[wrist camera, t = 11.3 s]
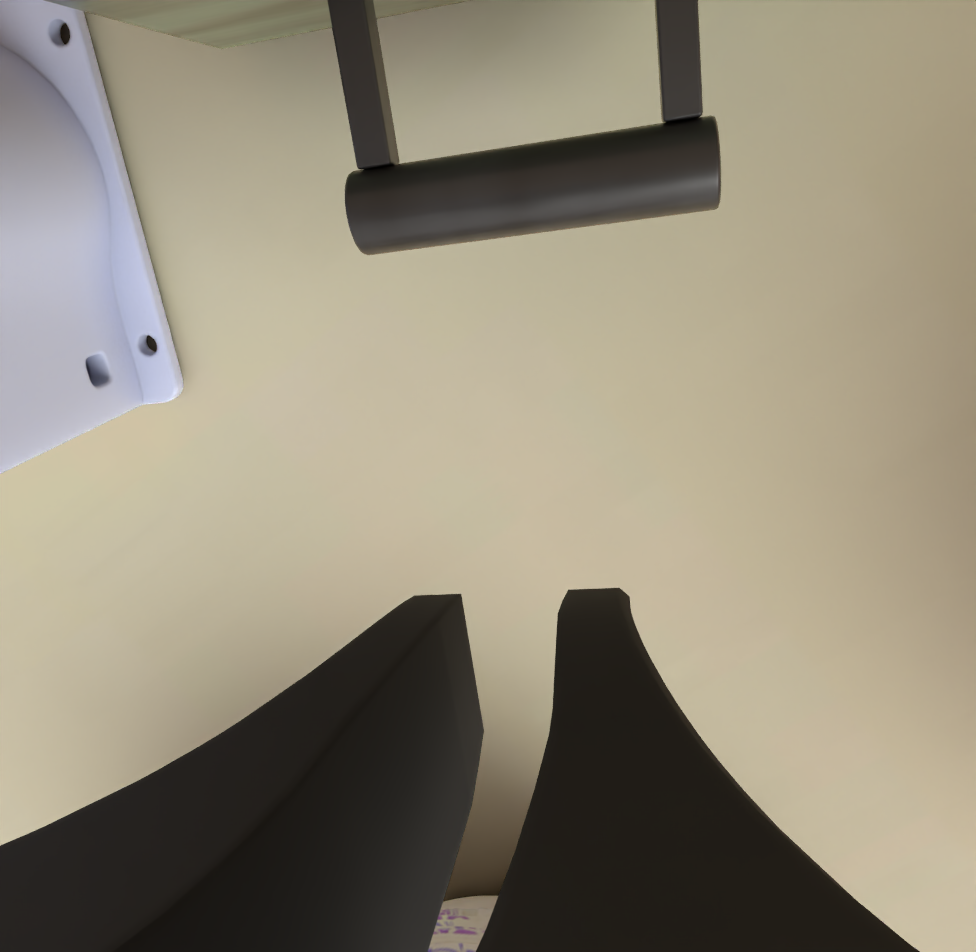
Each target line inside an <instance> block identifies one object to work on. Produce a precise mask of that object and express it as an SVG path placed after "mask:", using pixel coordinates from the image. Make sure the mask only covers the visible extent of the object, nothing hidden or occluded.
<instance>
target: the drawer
mask: <svg viewBox="0 0 976 952" xmlns="http://www.w3.org/2000/svg"><path fill="white" fill-rule="evenodd" d="M44 1H48V2H52V3H55V4H59V5H62V6H66V7H70V8H73V9H77V10H81V11H84V12H88V13H92V14H95V15H99V16H103V17H106V18H110V19H114V20H117V21H121V22H124V23H128V24H132V25H135V26H139V27H143V28H146V29H150V30H154V31H157V32H161V33H165V34H168V35H172V36H176V37H179V38H183V39H187V40H190V41H194V42H197V43H201V44H205V45H208V46H212V47H216V48H219V49H224V48H230V47H235V46H240V45H245V44H250V43H255V42H260V41H265V40H270V39H275V38H281V37H286V36H291V35H296V34H301V33H306V32H311V31H316V30H321V29H327V28H332V29H333V35H334V41H335V46H336V52H337V57H338V63H339V68H340V74H341V80H342V85H343V91H344V96H345V102H346V107H347V113H348V119H349V124H350V130H351V135H352V141H353V146H354V152H355V158H356V163H357V167H358V169H364V170H357V171H353V172H352V173H350V174H349V175H348V177H347V180H346V185H345V206H346V214H347V219H348V223H349V227H350V230H351V233H352V236H353V239H354V241H355V243H356V245H357V247H358V248H359V250H360V251H361V252H362V253H364V254H366V255H374V254H381V253H389V252H397V251H404V250H412V249H419V248H427V247H434V246H442V245H450V244H457V243H465V242H472V241H480V240H488V239H495V238H503V237H510V236H518V235H526V234H533V233H541V232H548V231H556V230H564V229H571V228H579V227H586V226H594V225H602V224H609V223H617V222H624V221H632V220H640V219H647V218H655V217H662V216H670V215H678V214H685V213H693V212H700V211H708V210H715V209H717V208H718V206H719V203H720V195H721V161H720V144H719V133H718V126H717V122H716V119H715V117H714V116H705V117H700V116H701V115H702V113H703V107H702V84H701V61H700V38H699V15H698V0H655V14H656V31H657V48H658V65H659V82H660V99H661V116H662V121H663V123H660V124H653V125H647V126H641V127H634V128H628V129H621V130H615V131H608V132H602V133H595V134H589V135H583V136H576V137H570V138H563V139H557V140H550V141H544V142H537V143H531V144H525V145H518V146H512V147H505V148H499V149H492V150H486V151H480V152H473V153H467V154H460V155H454V156H447V157H441V158H434V159H428V160H422V161H415V162H409V163H402V164H399V156H398V150H397V144H396V138H395V132H394V125H393V119H392V113H391V107H390V101H389V95H388V89H387V82H386V76H385V70H384V64H383V58H382V52H381V46H380V39H379V33H378V27H377V21H376V19H378V18H383V17H388V16H393V15H398V14H403V13H408V12H413V11H418V10H423V9H429V8H434V7H439V6H444V5H449V4H454V3H459V2H464V1H469V0H44Z"/></svg>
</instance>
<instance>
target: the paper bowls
mask: <svg viewBox="0 0 976 952" xmlns="http://www.w3.org/2000/svg"><path fill="white" fill-rule="evenodd" d="M497 898H498V896H472V897H464V898H458V899H452V900H448V901H445V902H443V903H442V907H441V910H440V913H439V916H438V920H437V923H436V926H435V930H434V933H433V936H432V940H431V943H430V946H429V949H428V952H476V950H477V948H478V945H479V943H480V941H481V939H482V937H483V934H484V932H485V930H486V928H487V925H488V922H489V920H490V917H491V914H492V912H493V909H494V906H495V904H496V901H497Z"/></svg>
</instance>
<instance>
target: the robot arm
mask: <svg viewBox="0 0 976 952" xmlns="http://www.w3.org/2000/svg"><path fill="white" fill-rule="evenodd" d="M64 23H66V24H67V26H68V28H69V30H70V39H69V42H68V43H67V44H66V45H65V44H64V43H63V41H62V39H61V36H60V29H61V27H62V25H63V24H64ZM148 335H150V336H151V337H152V338H153V339H154V340H155V342H156V343H157V351H156V352H154V351H152V350H151V349H150V348H149V347H148V345H147V339H146V338H147V336H148ZM183 387H184V385H183V377H182V373H181V370H180V366H179V362H178V359H177V355H176V351H175V347H174V344H173V340H172V336H171V333H170V329H169V325H168V322H167V318H166V314H165V310H164V307H163V303H162V299H161V296H160V292H159V288H158V285H157V281H156V277H155V274H154V270H153V266H152V262H151V259H150V255H149V251H148V248H147V244H146V240H145V237H144V233H143V229H142V225H141V222H140V218H139V214H138V211H137V207H136V203H135V200H134V196H133V192H132V188H131V185H130V181H129V177H128V174H127V170H126V166H125V163H124V159H123V155H122V151H121V148H120V144H119V140H118V137H117V133H116V129H115V126H114V122H113V118H112V114H111V111H110V107H109V103H108V100H107V96H106V92H105V89H104V85H103V81H102V77H101V74H100V70H99V66H98V63H97V59H96V55H95V52H94V48H93V44H92V40H91V37H90V33H89V29H88V26H87V22H86V18H85V15H84V11H81V10H77V9H73V8H70V7H66V6H62V5H59V4H55V3H52V2H48V1H44V0H0V474H1V473H3V472H5V471H7V470H9V469H11V468H13V467H15V466H18V465H20V464H22V463H24V462H26V461H28V460H30V459H32V458H34V457H36V456H38V455H40V454H42V453H44V452H46V451H48V450H50V449H53V448H55V447H57V446H59V445H61V444H63V443H65V442H67V441H69V440H71V439H73V438H75V437H77V436H79V435H81V434H83V433H85V432H88V431H90V430H92V429H94V428H96V427H98V426H100V425H102V424H104V423H106V422H108V421H110V420H112V419H114V418H116V417H118V416H120V415H123V414H125V413H127V412H129V411H131V410H133V409H135V408H137V407H139V406H141V405H144V404H154V403H164V402H168V401H171V400H173V399H175V398H177V397H178V396H179V395H180V394H181V393H182V390H183ZM483 733H484V729H483V723H482V717H481V711H480V705H479V699H478V693H477V687H476V681H475V675H474V669H473V663H472V657H471V651H470V645H469V639H468V633H467V627H466V621H465V615H464V609H463V603H462V597H461V594H446V595H420V596H413V597H412V598H410V599H408V600H407V601H405V602H403V603H402V604H400V605H399V606H398V607H396V608H395V609H393V610H392V611H391V612H389V613H388V614H387V615H385V616H384V617H383V618H381V619H380V620H379V621H377V622H376V623H375V624H373V625H372V626H371V627H369V628H368V629H367V630H366V631H364V632H363V633H362V634H360V635H359V636H358V637H356V638H355V639H354V640H352V641H351V642H350V643H349V644H347V645H346V646H345V647H343V648H342V649H341V650H339V651H338V652H337V653H335V654H334V655H333V656H331V657H330V658H329V659H327V660H326V661H325V662H323V663H322V664H321V665H319V666H318V667H317V668H316V669H314V670H313V671H312V672H310V673H309V674H307V675H306V676H305V677H303V678H302V679H300V680H299V681H297V682H296V683H295V684H293V685H292V686H290V687H289V688H287V689H286V690H284V691H283V692H282V693H280V694H279V695H277V696H276V697H274V698H273V699H271V700H270V701H269V702H267V703H266V704H264V705H263V706H261V707H260V708H258V709H257V710H256V711H254V712H253V713H251V714H250V715H248V716H247V717H245V718H244V719H243V720H241V721H239V722H238V723H236V724H235V725H233V726H232V727H230V728H229V729H227V730H225V731H224V732H222V733H221V734H219V735H217V736H216V737H214V738H212V739H211V740H209V741H207V742H206V743H204V744H203V745H201V746H199V747H197V748H196V749H194V750H192V751H190V752H189V753H187V754H185V755H183V756H182V757H180V758H178V759H176V760H175V761H173V762H171V763H169V764H168V765H166V766H164V767H162V768H161V769H159V770H157V771H155V772H154V773H152V774H150V775H148V776H146V777H144V778H142V779H140V780H139V781H137V782H135V783H133V784H131V785H129V786H127V787H124V788H122V789H120V790H118V791H116V792H114V793H112V794H110V795H108V796H106V797H104V798H102V799H100V800H98V801H96V802H94V803H92V804H90V805H88V806H86V807H84V808H82V809H79V810H77V811H75V812H73V813H71V814H69V815H67V816H65V817H63V818H61V819H59V820H57V821H55V822H53V823H51V824H49V825H47V826H45V827H42V828H40V829H38V830H36V831H33V832H31V833H29V834H27V835H24V836H22V837H20V838H17V839H15V840H13V841H10V842H8V843H6V844H3V845H1V846H0V952H428V949H429V946H430V943H431V940H432V936H433V933H434V930H435V926H436V923H437V920H438V916H439V913H440V910H441V907H442V903H443V900H444V897H445V893H446V890H447V887H448V884H449V880H450V877H451V874H452V870H453V867H454V864H455V860H456V857H457V854H458V850H459V847H460V844H461V840H462V837H463V833H464V830H465V827H466V823H467V820H468V816H469V813H470V809H471V806H472V801H473V795H474V790H475V784H476V778H477V772H478V766H479V759H480V753H481V746H482V739H483ZM476 952H919V951H918V950H917V949H915V948H914V947H913V946H911V945H910V944H909V943H907V942H906V941H905V940H904V939H902V938H901V937H900V936H899V935H898V934H896V933H895V932H894V931H893V930H892V929H890V928H889V927H888V926H887V925H885V924H884V923H883V922H882V921H881V920H879V919H878V918H877V917H876V916H875V915H873V914H872V913H871V912H870V911H869V910H867V909H866V908H865V907H864V906H863V905H861V904H860V903H859V902H858V901H856V900H855V899H854V898H853V897H852V896H851V895H850V894H849V893H848V892H847V891H846V890H844V889H843V888H842V887H841V886H840V885H839V884H838V883H837V882H836V881H835V880H834V879H833V878H832V877H831V876H829V875H828V874H827V873H826V872H825V871H824V870H823V869H822V868H821V867H820V866H819V865H818V864H817V863H816V862H814V861H813V860H812V859H811V858H810V857H809V856H808V855H807V854H806V853H805V852H804V851H803V850H802V849H801V848H800V847H798V846H797V845H796V844H795V843H794V842H793V841H792V840H791V839H790V838H789V837H788V836H787V835H786V834H785V833H783V832H782V831H781V830H780V829H779V828H778V827H777V826H776V825H775V824H774V823H773V821H772V820H771V819H770V818H769V817H768V816H767V815H766V814H765V813H764V812H763V811H762V810H761V809H760V807H759V806H758V805H757V804H756V803H755V802H754V801H753V800H752V799H751V798H750V797H749V796H748V794H747V793H746V792H745V791H744V790H743V789H742V788H741V787H740V785H739V784H738V783H737V782H736V781H735V780H734V778H733V777H732V776H731V775H730V774H729V773H728V771H727V770H726V769H725V768H724V767H723V765H722V764H721V763H720V762H719V761H718V759H717V758H716V757H715V756H714V754H713V753H712V752H711V750H710V749H709V748H708V747H707V745H706V744H705V743H704V741H703V740H702V739H701V737H700V736H699V735H698V733H697V732H696V730H695V729H694V728H693V726H692V725H691V723H690V722H689V720H688V719H687V717H686V716H685V715H684V713H683V712H682V710H681V709H680V707H679V706H678V704H677V703H676V701H675V700H674V698H673V696H672V695H671V693H670V692H669V690H668V688H667V687H666V685H665V683H664V682H663V680H662V678H661V676H660V674H659V673H658V671H657V669H656V667H655V666H654V664H653V662H652V660H651V658H650V657H649V655H648V653H647V651H646V649H645V647H644V645H643V642H642V640H641V638H640V635H639V633H638V631H637V628H636V626H635V623H634V620H633V617H632V614H631V609H630V598H629V596H628V595H627V594H626V593H625V592H623V591H622V590H621V589H620V588H605V589H579V590H568V592H567V593H566V595H565V597H564V599H563V601H562V604H561V607H560V609H559V612H558V621H557V637H556V656H555V676H554V695H553V711H552V718H551V725H550V732H549V737H548V741H547V745H546V748H545V752H544V756H543V760H542V763H541V767H540V771H539V775H538V778H537V782H536V786H535V790H534V793H533V796H532V799H531V802H530V806H529V809H528V812H527V815H526V818H525V822H524V825H523V828H522V831H521V834H520V838H519V841H518V844H517V847H516V850H515V853H514V856H513V858H512V861H511V864H510V866H509V869H508V872H507V874H506V877H505V880H504V882H503V885H502V888H501V890H500V893H499V896H498V898H497V901H496V904H495V906H494V909H493V912H492V914H491V917H490V920H489V922H488V925H487V928H486V930H485V932H484V934H483V937H482V939H481V941H480V943H479V945H478V948H477V950H476Z"/></svg>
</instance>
